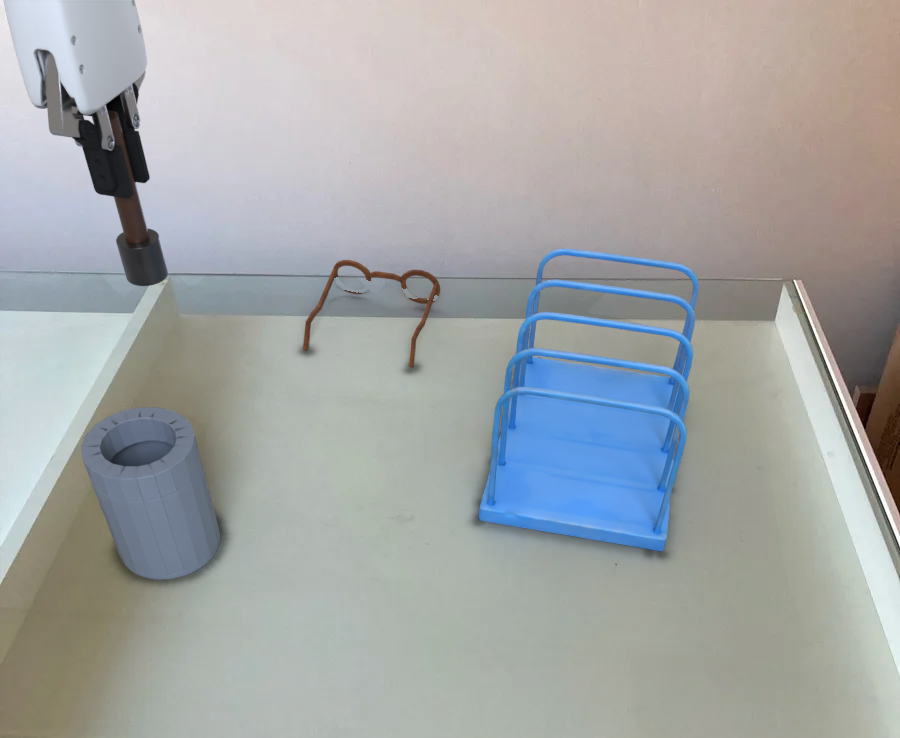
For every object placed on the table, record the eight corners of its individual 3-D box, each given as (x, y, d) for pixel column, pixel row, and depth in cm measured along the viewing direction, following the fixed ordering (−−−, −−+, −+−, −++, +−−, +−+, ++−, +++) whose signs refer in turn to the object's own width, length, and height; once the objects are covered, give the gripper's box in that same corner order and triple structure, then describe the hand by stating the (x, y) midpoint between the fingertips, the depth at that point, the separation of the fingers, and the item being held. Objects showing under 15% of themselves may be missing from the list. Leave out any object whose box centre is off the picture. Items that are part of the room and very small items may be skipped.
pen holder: (101, 566, 81) (59, 465, 72) (150, 500, 87) (117, 398, 78) (192, 589, 80) (161, 488, 71) (236, 520, 85) (213, 418, 76)
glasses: (441, 307, 109) (441, 268, 105) (413, 370, 101) (412, 331, 97) (336, 291, 111) (333, 253, 107) (300, 352, 103) (295, 313, 99)
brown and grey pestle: (119, 282, 80) (72, 122, 70) (138, 262, 82) (96, 103, 72) (156, 289, 79) (114, 128, 69) (175, 268, 82) (137, 109, 71)
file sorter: (663, 555, 83) (700, 422, 72) (477, 524, 86) (484, 390, 74) (678, 391, 99) (710, 260, 87) (520, 369, 101) (532, 238, 90)
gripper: (64, -120, 66) (129, 141, 80) (-73, -59, 56) (29, 226, 70) (158, -111, 65) (207, 152, 79) (34, -47, 55) (116, 241, 69)
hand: (123, 185), depth 75 cm, fingers closed on brown and grey pestle, 2 cm apart
